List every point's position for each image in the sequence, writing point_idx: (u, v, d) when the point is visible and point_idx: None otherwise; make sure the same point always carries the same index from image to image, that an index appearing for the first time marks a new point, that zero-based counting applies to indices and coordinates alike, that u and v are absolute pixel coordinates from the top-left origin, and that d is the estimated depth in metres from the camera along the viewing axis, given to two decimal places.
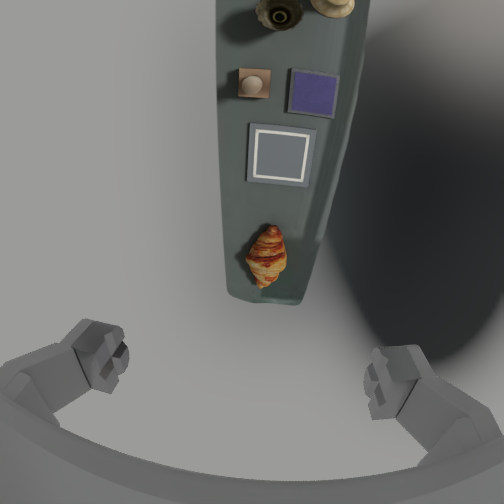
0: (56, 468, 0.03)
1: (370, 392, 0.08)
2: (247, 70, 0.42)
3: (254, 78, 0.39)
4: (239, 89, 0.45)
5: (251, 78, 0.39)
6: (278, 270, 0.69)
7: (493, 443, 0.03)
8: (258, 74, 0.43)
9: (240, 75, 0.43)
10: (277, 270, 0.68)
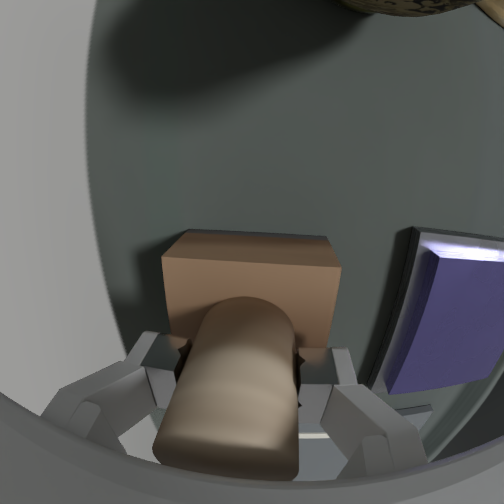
0: (56, 468, 0.03)
1: None
2: (206, 270, 0.09)
3: (244, 443, 0.04)
4: None
5: (217, 441, 0.04)
6: None
7: (493, 443, 0.03)
8: (270, 294, 0.09)
9: (172, 295, 0.09)
10: None
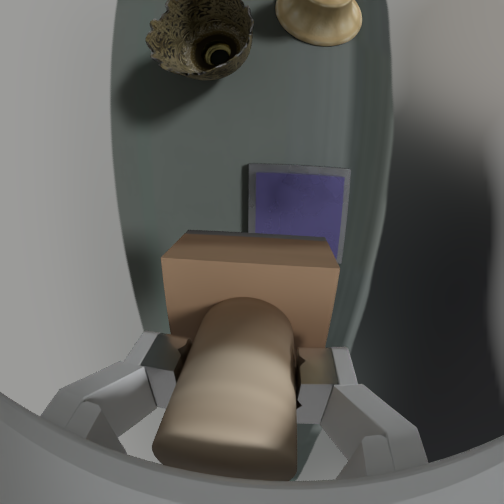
0: (56, 468, 0.03)
1: None
2: (205, 271, 0.09)
3: (242, 441, 0.04)
4: None
5: (216, 440, 0.04)
6: None
7: (493, 443, 0.03)
8: (269, 294, 0.09)
9: (172, 296, 0.09)
10: None
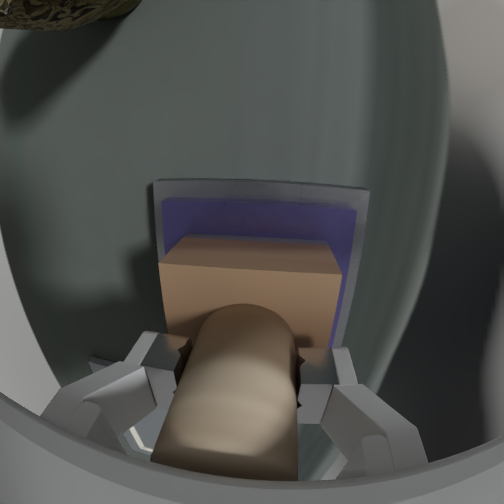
0: (56, 468, 0.03)
1: None
2: (204, 277, 0.08)
3: (242, 456, 0.04)
4: None
5: (215, 455, 0.04)
6: None
7: (493, 443, 0.03)
8: (270, 301, 0.08)
9: (170, 302, 0.09)
10: None
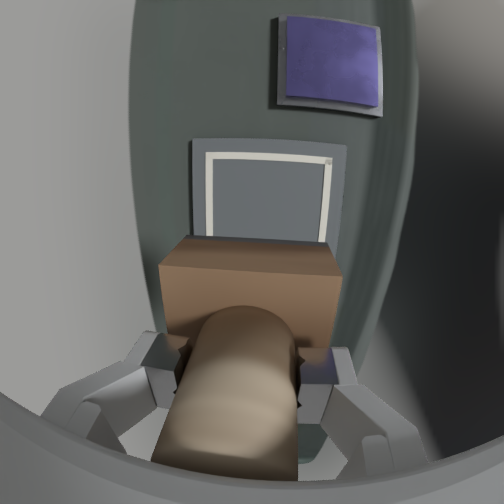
0: (56, 468, 0.03)
1: None
2: (204, 279, 0.08)
3: (242, 458, 0.04)
4: None
5: (216, 457, 0.04)
6: None
7: (493, 443, 0.03)
8: (270, 303, 0.08)
9: (170, 304, 0.09)
10: None
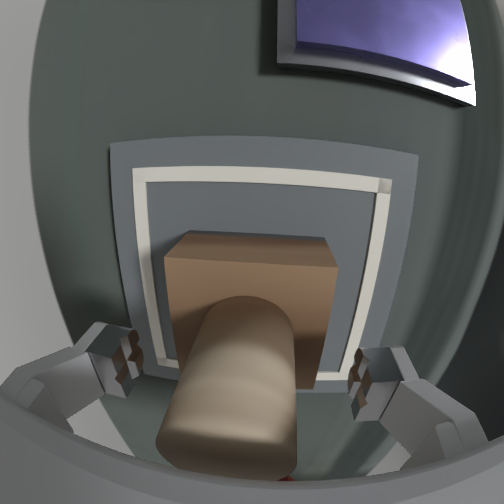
0: (56, 468, 0.03)
1: (353, 393, 0.08)
2: (207, 270, 0.09)
3: (244, 434, 0.05)
4: (181, 355, 0.10)
5: (218, 433, 0.05)
6: None
7: (493, 443, 0.03)
8: (269, 293, 0.09)
9: (174, 295, 0.09)
10: None
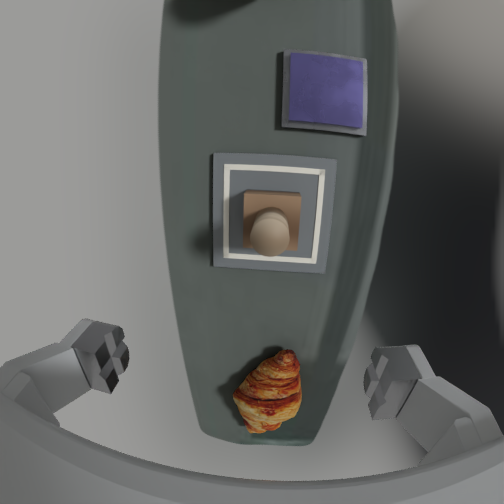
0: (56, 468, 0.03)
1: (370, 392, 0.08)
2: (259, 197, 0.27)
3: (275, 222, 0.23)
4: (245, 234, 0.28)
5: (269, 222, 0.23)
6: (286, 418, 0.36)
7: (493, 443, 0.03)
8: (279, 205, 0.27)
9: (246, 207, 0.27)
10: (285, 418, 0.35)
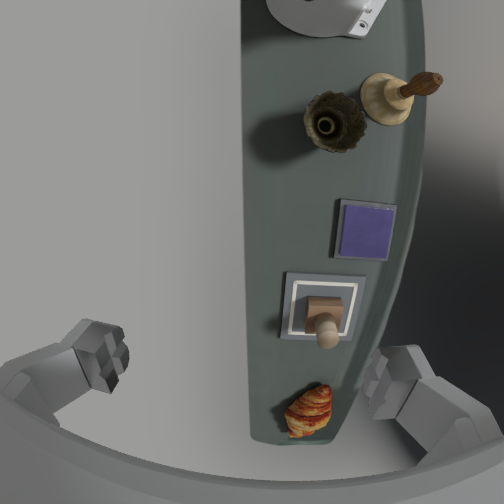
0: (56, 468, 0.03)
1: (370, 392, 0.08)
2: (318, 307, 0.42)
3: (332, 332, 0.38)
4: (307, 327, 0.44)
5: (329, 333, 0.38)
6: (320, 427, 0.51)
7: (493, 443, 0.03)
8: (330, 311, 0.42)
9: (309, 312, 0.43)
10: (320, 427, 0.51)
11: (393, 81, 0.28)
